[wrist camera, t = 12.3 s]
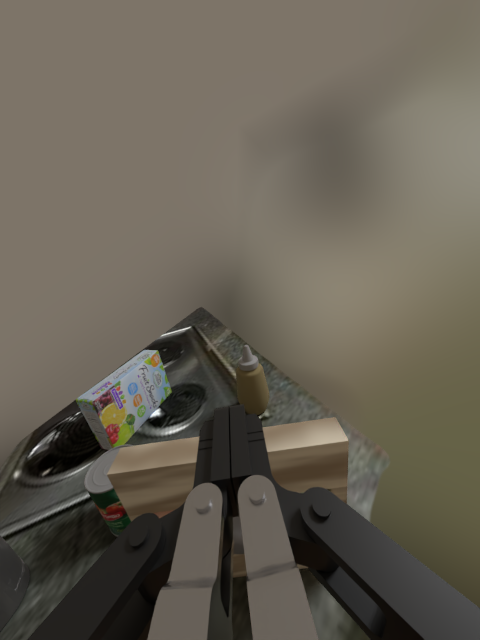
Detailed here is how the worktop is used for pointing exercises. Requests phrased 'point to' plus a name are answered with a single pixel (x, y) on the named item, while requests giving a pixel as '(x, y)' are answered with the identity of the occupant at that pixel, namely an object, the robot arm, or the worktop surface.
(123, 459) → the button panel
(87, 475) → the canned tomato
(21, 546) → the worktop surface
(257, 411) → the squeeze bottle
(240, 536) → the grey button
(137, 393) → the snack box
